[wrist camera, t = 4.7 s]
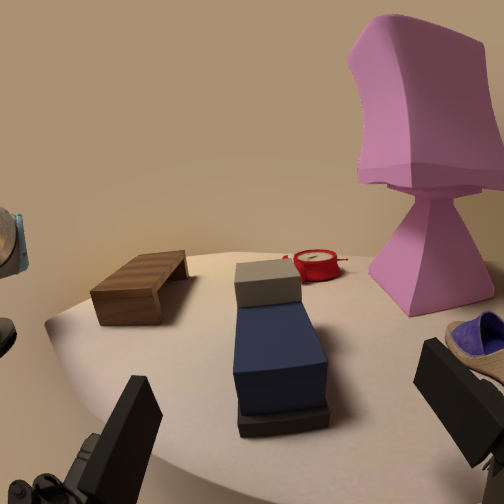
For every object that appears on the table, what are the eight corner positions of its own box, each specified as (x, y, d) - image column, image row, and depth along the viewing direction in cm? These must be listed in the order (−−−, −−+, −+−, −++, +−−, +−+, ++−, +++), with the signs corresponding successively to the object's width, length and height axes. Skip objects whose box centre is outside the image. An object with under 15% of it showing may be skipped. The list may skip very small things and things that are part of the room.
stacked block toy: (328, 427, 19) (338, 334, 17) (240, 437, 19) (221, 347, 17) (295, 322, 38) (291, 255, 36) (242, 327, 39) (234, 261, 36)
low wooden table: (160, 324, 41) (151, 287, 39) (99, 325, 41) (89, 291, 39) (189, 276, 64) (184, 249, 63) (143, 279, 64) (138, 254, 63)
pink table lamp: (502, 298, 31) (484, 43, 20) (404, 322, 33) (375, 8, 22) (443, 262, 53) (428, 74, 42) (360, 272, 55) (341, 62, 44)
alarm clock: (353, 257, 53) (287, 253, 49) (348, 286, 54) (282, 286, 50) (328, 247, 63) (269, 242, 59) (324, 273, 64) (265, 270, 60)
